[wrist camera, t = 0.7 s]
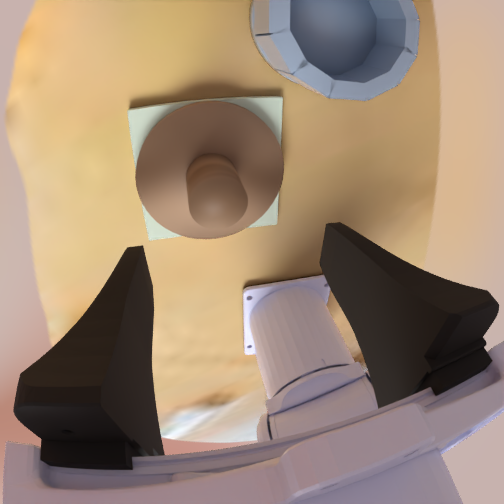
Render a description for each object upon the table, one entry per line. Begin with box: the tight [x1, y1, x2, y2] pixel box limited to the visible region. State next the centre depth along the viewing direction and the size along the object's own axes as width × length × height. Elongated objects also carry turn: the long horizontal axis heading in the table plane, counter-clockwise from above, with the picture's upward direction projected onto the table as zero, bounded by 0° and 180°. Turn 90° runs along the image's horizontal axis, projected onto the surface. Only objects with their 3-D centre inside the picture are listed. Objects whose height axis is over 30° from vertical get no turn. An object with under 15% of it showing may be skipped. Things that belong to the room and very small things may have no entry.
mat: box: [127, 96, 283, 241], centre depth 19 cm, size 9×9×1 cm
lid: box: [135, 101, 284, 239], centre depth 18 cm, size 9×9×4 cm
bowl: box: [249, 0, 420, 101], centre depth 14 cm, size 9×9×4 cm
